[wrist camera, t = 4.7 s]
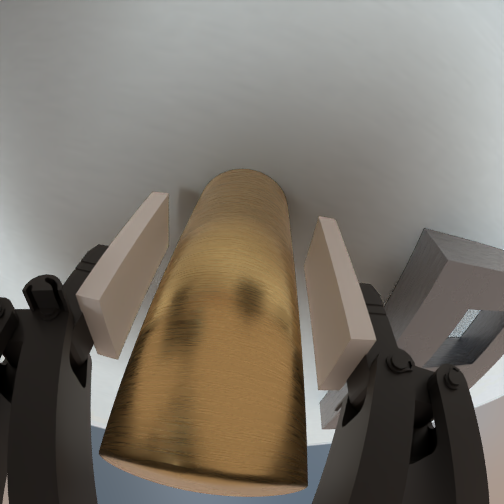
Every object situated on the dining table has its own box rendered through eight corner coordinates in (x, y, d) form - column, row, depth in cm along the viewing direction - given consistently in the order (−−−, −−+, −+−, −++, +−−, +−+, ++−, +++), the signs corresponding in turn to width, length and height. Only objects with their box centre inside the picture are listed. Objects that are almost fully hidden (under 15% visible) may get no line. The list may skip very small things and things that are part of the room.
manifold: (424, 228, 14) (495, 337, 8) (537, 261, 15) (585, 329, 8) (319, 402, 26) (324, 476, 19) (428, 397, 26) (442, 455, 20)
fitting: (202, 163, 13) (66, 426, 3) (296, 177, 13) (343, 469, 3) (197, 241, 16) (125, 475, 6) (278, 253, 16) (280, 499, 6)
